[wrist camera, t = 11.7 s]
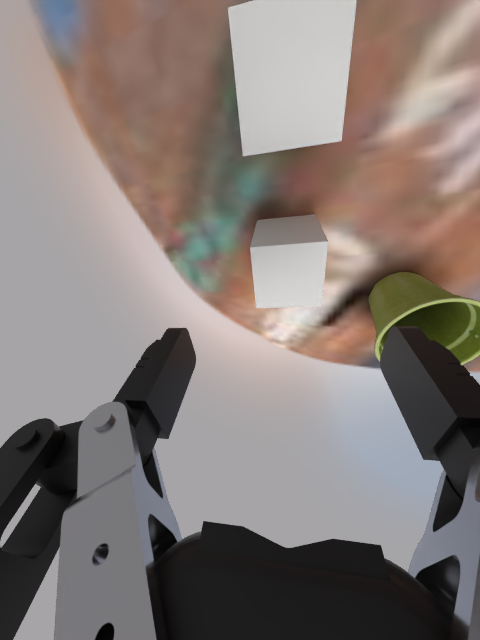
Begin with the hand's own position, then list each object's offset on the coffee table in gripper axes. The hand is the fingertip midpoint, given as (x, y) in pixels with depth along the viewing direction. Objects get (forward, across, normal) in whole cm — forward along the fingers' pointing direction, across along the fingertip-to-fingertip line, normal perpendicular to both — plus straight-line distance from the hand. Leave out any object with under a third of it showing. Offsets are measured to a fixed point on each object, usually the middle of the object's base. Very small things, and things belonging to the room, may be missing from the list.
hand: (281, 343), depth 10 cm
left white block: (+19, -1, -10) cm, 21 cm away
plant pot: (+19, -14, +9) cm, 26 cm away
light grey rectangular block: (+19, -1, +2) cm, 19 cm away
